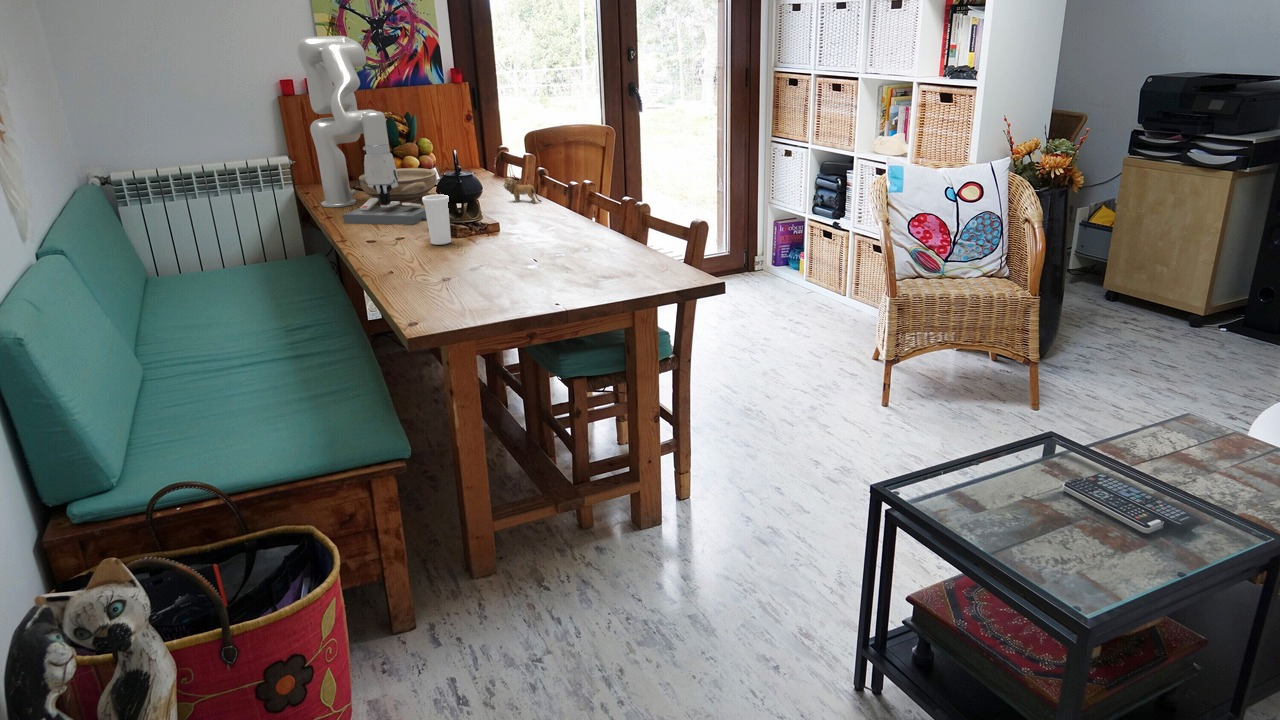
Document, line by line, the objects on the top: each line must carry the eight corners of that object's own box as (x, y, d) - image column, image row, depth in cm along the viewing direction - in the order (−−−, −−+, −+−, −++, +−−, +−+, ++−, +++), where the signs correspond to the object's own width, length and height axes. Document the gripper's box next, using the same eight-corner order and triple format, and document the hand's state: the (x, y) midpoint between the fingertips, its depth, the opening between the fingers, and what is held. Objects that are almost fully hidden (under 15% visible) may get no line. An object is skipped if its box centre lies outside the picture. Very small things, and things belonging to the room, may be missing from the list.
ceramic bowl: (346, 199, 336) (342, 173, 332) (415, 189, 352) (412, 164, 349) (384, 214, 309) (380, 185, 305) (457, 202, 325) (454, 175, 321)
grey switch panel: (365, 214, 309) (364, 205, 308) (447, 216, 302) (446, 207, 301) (344, 223, 297) (342, 214, 296) (429, 225, 289) (428, 216, 288)
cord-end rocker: (413, 206, 303) (413, 203, 303) (420, 206, 302) (420, 203, 302) (402, 205, 295) (402, 202, 295) (410, 205, 295) (410, 202, 295)
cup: (448, 246, 261) (442, 199, 256) (423, 246, 263) (417, 199, 258) (458, 240, 269) (453, 194, 263) (434, 239, 270) (428, 194, 265)
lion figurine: (502, 203, 320) (500, 178, 317) (509, 200, 325) (507, 176, 322) (539, 204, 316) (537, 179, 313) (545, 201, 321) (543, 177, 317)
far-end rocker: (370, 200, 306) (370, 197, 305) (378, 200, 305) (377, 197, 304) (360, 209, 300) (359, 207, 299) (368, 210, 299) (367, 207, 298)
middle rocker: (392, 203, 304) (391, 201, 304) (399, 203, 304) (399, 201, 303) (380, 207, 297) (380, 204, 297) (388, 207, 297) (388, 204, 296)
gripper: (352, 151, 289) (360, 206, 296) (392, 151, 285) (400, 207, 292) (363, 148, 296) (372, 202, 302) (403, 148, 292) (410, 202, 299)
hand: (385, 204), depth 297 cm, fingers closed
